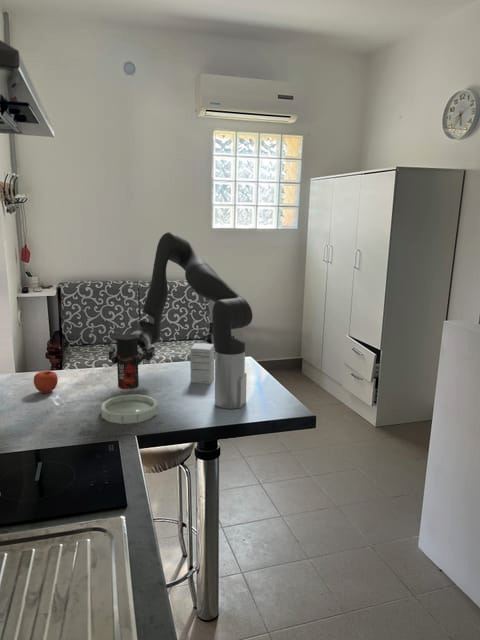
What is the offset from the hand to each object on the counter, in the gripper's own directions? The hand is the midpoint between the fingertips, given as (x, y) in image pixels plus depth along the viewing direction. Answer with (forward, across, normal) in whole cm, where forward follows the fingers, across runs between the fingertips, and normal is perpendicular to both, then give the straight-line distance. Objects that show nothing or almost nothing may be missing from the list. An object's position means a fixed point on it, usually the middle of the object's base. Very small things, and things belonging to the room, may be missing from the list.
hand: (125, 360), depth 139 cm
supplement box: (-31, +20, +17) cm, 41 cm away
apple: (-18, -30, +17) cm, 39 cm away
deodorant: (-2, 0, +9) cm, 9 cm away
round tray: (-2, 0, +17) cm, 17 cm away
